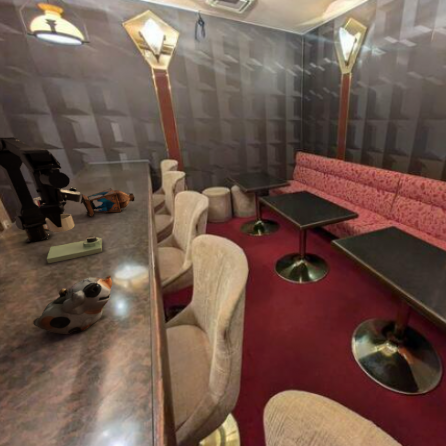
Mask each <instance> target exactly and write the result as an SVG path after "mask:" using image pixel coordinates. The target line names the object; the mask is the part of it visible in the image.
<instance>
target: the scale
mask: <svg viewBox="0 0 446 446" xmlns="http://www.w3.org/2000/svg"><path fill="white" fill-rule="evenodd" d="M96 239H97V241H95V242H90V243H88V242H87V239H85V240H81V241H74V242H70V243H65V244H58V245H54V246H50V248H49V251H48V254H47V257H46V262H47V264H51V263H57V262H61V261H62V262H63V261H66V260H70V259H75V258H81V257H85V256H89V255H95V254H99V253H103V240H102V238H101V237H96Z"/></svg>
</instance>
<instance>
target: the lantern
mask: <svg viewBox="0 0 446 446" xmlns="http://www.w3.org/2000/svg"><path fill="white" fill-rule="evenodd" d="M96 196H99V197H96ZM92 197H95V198H92ZM90 198H91V199H90ZM135 198H136V197H135V195H134V193H130V192H124V191H123V190H120V189H115V190H113V189H112V188H111V187H110V188H107V189H104V190H102V191H99V192H96V193H94V194H91V195H88V196H87V195H85V194H82V193H81V198H80V204H83V205H84V207H85V210H86V215H87V216H89V217H90V218H92V217H93V215H94V214H97V213H98V214H99V213H102V214H103V213H105V214H107V213H121V212H122V209H126V207H127V206H128V205H129V204H130V202H135ZM94 201H97V202H98V203H101V204H100V205H97V206H96V204H95V203H94Z"/></svg>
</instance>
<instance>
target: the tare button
mask: <svg viewBox="0 0 446 446" xmlns="http://www.w3.org/2000/svg"><path fill="white" fill-rule="evenodd" d="M96 238H97V237H96V235H91V236H88V237H86V240H87V242H88V243H90V242H95V241H97V239H96Z"/></svg>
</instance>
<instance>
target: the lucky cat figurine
mask: <svg viewBox="0 0 446 446" xmlns="http://www.w3.org/2000/svg"><path fill="white" fill-rule="evenodd" d="M111 277H112V276H111V275H107V276H106V277H104V278H103V277H102V278H101V277H86V278H83V279H81V280H79V281H78V282H76V283H74V284H72V285H71V287H69V288H68V289H67V288H61V289H60V290H58V296H59V297H57V298H56V299H54V300H52V301H50V302H48V304H47V305H46V306H45V308H44V310H43V311H42V313H41V315H40V316H39V317H37V318H35V319H34V320H33V321H32V322H33V323H32V324H33V326H34V327H36V328H39V329H40V330H44V331H47V332H51V333H54V334H61V335H63V334H64V335H69V334H71V333H73V332H78V333H80V332H84V331H85V330H86V329H88V328H89V327H90V326H92V325H94V324H95V323H96V322H97V321H99V320H100V319H101V318H102V316H103V309H104V306H105V305H106V304H107V303H108V302H109V300H110V299H111V292H112V289H111V288H112V286H113V280H112V278H111Z"/></svg>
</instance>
